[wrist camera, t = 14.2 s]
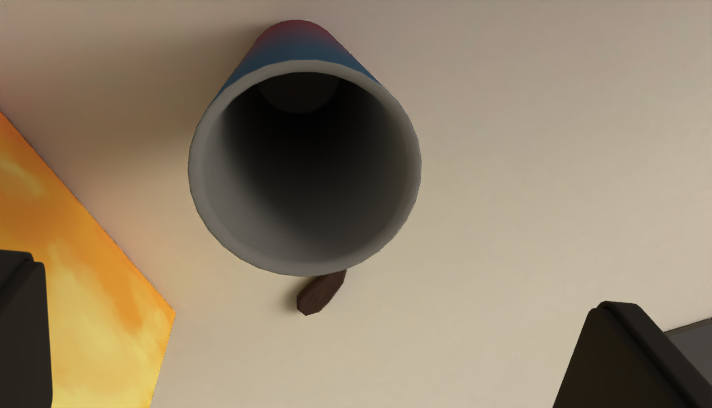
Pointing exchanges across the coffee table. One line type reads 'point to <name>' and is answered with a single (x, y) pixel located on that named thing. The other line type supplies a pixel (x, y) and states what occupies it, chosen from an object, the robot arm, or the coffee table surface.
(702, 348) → the coaster
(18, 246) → the mottled yellow carton
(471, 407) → the coffee table surface
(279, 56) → the cup
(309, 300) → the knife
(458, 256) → the coffee table surface
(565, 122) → the coffee table surface
